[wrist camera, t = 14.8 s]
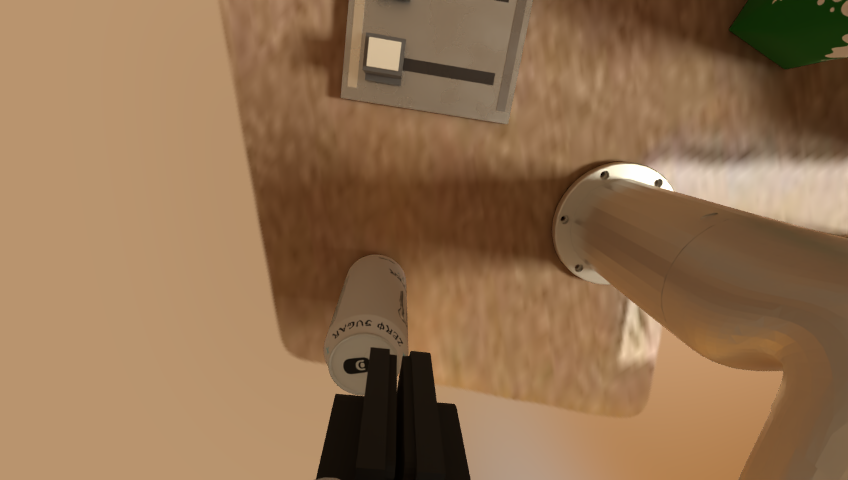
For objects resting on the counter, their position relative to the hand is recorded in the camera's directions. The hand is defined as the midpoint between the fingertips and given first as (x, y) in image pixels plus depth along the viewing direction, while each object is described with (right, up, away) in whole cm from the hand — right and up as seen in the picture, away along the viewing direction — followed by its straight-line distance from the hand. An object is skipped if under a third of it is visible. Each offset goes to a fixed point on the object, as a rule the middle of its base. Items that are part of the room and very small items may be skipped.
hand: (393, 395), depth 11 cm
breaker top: (-2, +20, +23) cm, 30 cm away
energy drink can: (-4, 0, +30) cm, 31 cm away
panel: (+2, +26, +23) cm, 34 cm away
